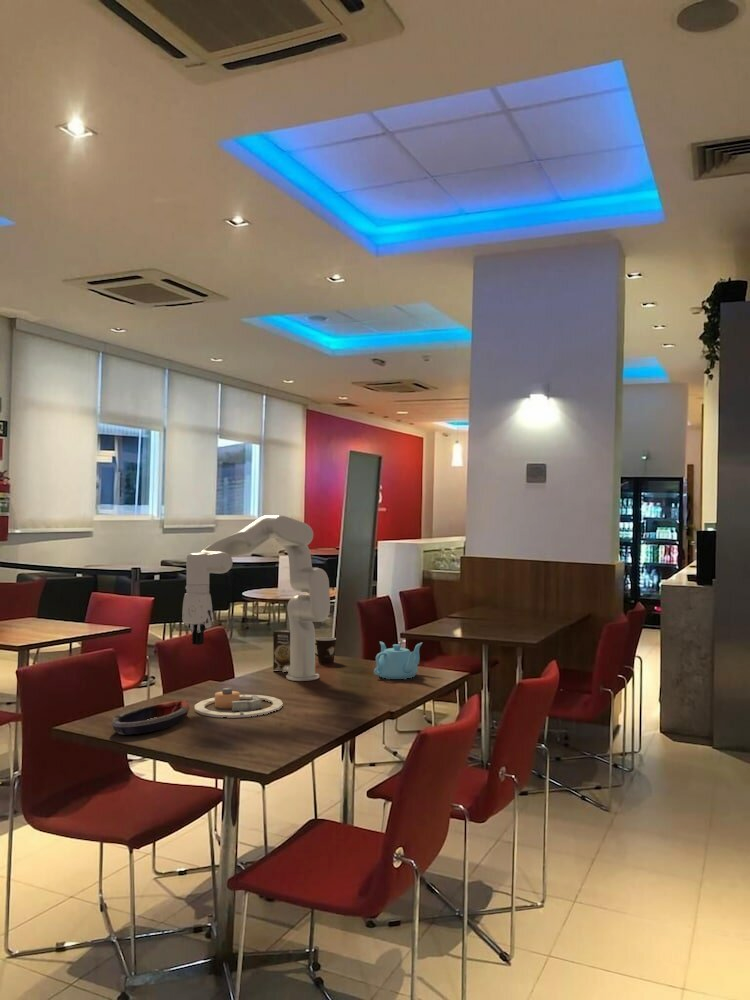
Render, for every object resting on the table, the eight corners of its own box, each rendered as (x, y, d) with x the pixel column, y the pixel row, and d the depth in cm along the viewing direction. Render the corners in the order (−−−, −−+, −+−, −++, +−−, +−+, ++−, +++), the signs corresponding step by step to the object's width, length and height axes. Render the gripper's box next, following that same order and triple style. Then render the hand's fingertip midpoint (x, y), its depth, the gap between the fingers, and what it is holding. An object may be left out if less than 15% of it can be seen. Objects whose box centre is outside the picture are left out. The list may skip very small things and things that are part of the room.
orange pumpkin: (209, 706, 267) (209, 689, 267) (226, 702, 273) (226, 685, 274) (228, 709, 263) (228, 692, 263) (244, 704, 269) (244, 687, 270)
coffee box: (272, 672, 324) (272, 631, 325) (280, 669, 330) (279, 629, 331) (293, 673, 321) (293, 632, 321) (300, 670, 327) (300, 630, 327)
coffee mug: (333, 660, 349) (333, 636, 349) (338, 663, 341) (338, 639, 341) (306, 662, 346) (306, 638, 346) (311, 665, 337) (311, 641, 338)
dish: (95, 735, 233) (95, 717, 233) (168, 711, 261) (168, 696, 261) (137, 741, 226) (137, 723, 226) (207, 717, 254) (207, 700, 254)
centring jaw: (229, 711, 260) (229, 702, 260) (253, 703, 270) (253, 694, 270) (244, 713, 256) (244, 704, 257) (268, 706, 267) (268, 696, 267)
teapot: (422, 672, 322) (422, 641, 322) (417, 682, 303) (417, 649, 304) (380, 671, 325) (379, 640, 325) (371, 680, 306) (371, 648, 307)
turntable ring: (176, 710, 261) (176, 707, 261) (235, 693, 285) (235, 690, 285) (243, 721, 246) (243, 718, 246) (299, 703, 270) (299, 699, 270)
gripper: (173, 589, 276) (173, 643, 276) (206, 591, 268) (207, 647, 268) (189, 587, 283) (189, 640, 282) (222, 589, 275) (222, 644, 274)
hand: (198, 643), depth 275 cm, fingers closed
